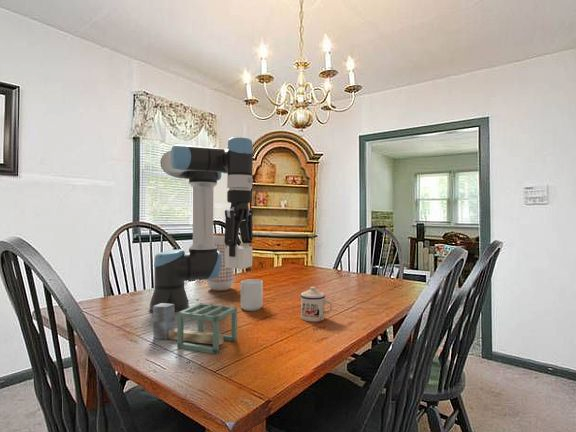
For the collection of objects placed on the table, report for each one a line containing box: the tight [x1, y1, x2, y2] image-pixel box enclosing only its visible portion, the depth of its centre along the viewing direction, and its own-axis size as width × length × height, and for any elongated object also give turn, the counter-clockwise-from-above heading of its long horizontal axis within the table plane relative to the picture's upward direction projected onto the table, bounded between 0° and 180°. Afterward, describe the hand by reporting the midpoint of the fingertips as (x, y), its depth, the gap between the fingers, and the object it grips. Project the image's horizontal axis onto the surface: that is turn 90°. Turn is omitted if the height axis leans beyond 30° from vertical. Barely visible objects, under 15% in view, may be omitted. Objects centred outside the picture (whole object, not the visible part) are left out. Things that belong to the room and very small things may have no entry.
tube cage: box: [176, 302, 238, 355], centre depth 106 cm, size 13×11×10 cm
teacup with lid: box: [300, 286, 334, 323], centre depth 132 cm, size 12×9×12 cm
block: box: [225, 245, 253, 270], centre depth 109 cm, size 6×6×6 cm
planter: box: [206, 232, 235, 292], centre depth 180 cm, size 13×13×28 cm
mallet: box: [152, 303, 224, 346], centre depth 109 cm, size 23×4×10 cm, turn 70°
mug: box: [240, 278, 264, 312], centre depth 147 cm, size 12×9×11 cm
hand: (239, 265), depth 109 cm, fingers closed on block, 6 cm apart
